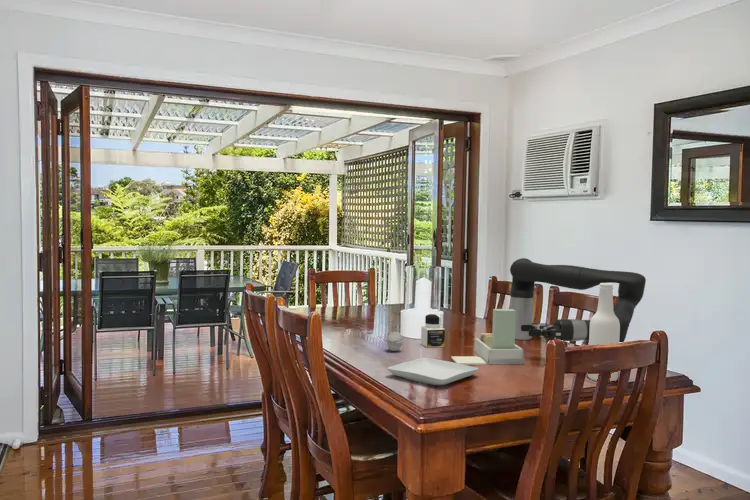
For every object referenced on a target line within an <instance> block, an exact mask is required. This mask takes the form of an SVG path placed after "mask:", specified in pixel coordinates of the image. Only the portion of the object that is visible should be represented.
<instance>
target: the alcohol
mask: <svg viewBox="0 0 750 500" xmlns="http://www.w3.org/2000/svg"><path fill="white" fill-rule="evenodd" d="M613 290H614V283H600V285H599V293H598V303H597V310H596V312H595V313H594V314H593V315H592V317H591V318H590V320H591V321H590V330H589V340H588V346H589V345H597V344H610V343H619V339H620V323H619V320H618V318H617V317H616V315H615V314H614V311H613V308H614V293H613V292H614V291H613ZM598 375H599V374H588V373H587V376H588V378H589V380H591V381H594V382H598V381H597V379H598ZM618 379H619V371H618V372H614V373H612V374H611V378H610V381H615V382H616V381H617V380H618Z"/></svg>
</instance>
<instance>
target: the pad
mask: <svg viewBox="0 0 750 500" xmlns="http://www.w3.org/2000/svg"><path fill="white" fill-rule="evenodd" d="M450 357H451V360H453V361H454V363H459V364H463V365H468V366H487V364H488V363H487V362H486V361H485V360H483V359H482V358H481V357H480V356H479V355H478V356H473V355H471V356H468V355H467V356H457V355H456V356H455V355H454V356H453V355H452V356H450Z"/></svg>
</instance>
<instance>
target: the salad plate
mask: <svg viewBox="0 0 750 500" xmlns="http://www.w3.org/2000/svg"><path fill="white" fill-rule="evenodd" d="M386 369H387V371H388V372H389V373H391V374H392V375H394V376H397V377H400V378H403V379H406V380H410V381H413V382H414V381H415V382H418V383H422V384H427V385H432V386H439V387H440V386H445V385H448V384H451V383H454V382H457V381H459V380H463V379H465V378H467V377H471V376H472V375H474V374H476V373H477V372H478V371H479V369H480V368H479V367H476V366H473V365H463V364H459V363H455V362H453V361H448V360H441V359H436V358H431V357H430V358H429V357H421V358H417V359H413V360H409V361H406V362H401V363H397V364H395V365H390V366H388V367H387V368H386Z"/></svg>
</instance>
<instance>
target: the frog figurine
mask: <svg viewBox="0 0 750 500" xmlns="http://www.w3.org/2000/svg"><path fill="white" fill-rule="evenodd" d="M403 343H404V340H403V337H402V335H401V333H400V332H398V331H391V332H390V333H389V334H388V337H387V339H386V345H387V348H388V350H389V351H391V352H397V351H399V350H400V349H401V347H402V345H403Z"/></svg>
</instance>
